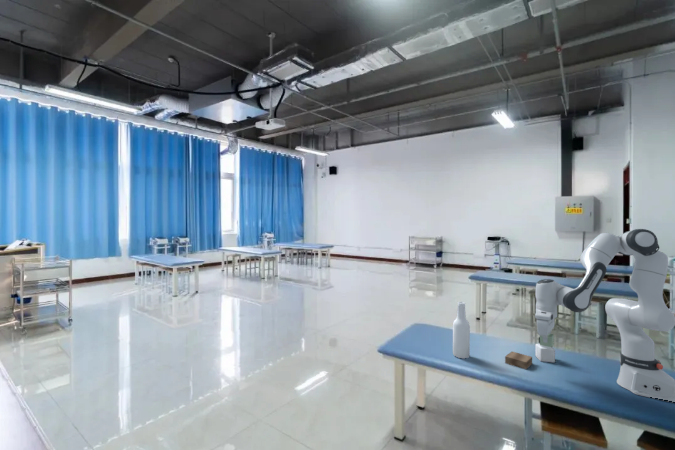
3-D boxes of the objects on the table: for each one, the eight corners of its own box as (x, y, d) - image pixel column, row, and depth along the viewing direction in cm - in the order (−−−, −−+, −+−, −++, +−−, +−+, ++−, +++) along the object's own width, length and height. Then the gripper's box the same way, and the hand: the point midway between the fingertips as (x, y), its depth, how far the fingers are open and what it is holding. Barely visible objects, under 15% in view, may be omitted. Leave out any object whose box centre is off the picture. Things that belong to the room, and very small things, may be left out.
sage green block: (553, 344, 157) (553, 334, 157) (551, 347, 154) (551, 337, 154) (542, 342, 161) (541, 332, 161) (539, 344, 157) (539, 334, 157)
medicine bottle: (555, 362, 170) (555, 340, 170) (540, 361, 172) (540, 339, 172) (549, 357, 177) (549, 335, 177) (535, 356, 179) (535, 334, 179)
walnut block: (532, 364, 169) (532, 356, 169) (526, 370, 162) (526, 362, 162) (511, 358, 176) (511, 351, 176) (505, 363, 169) (505, 356, 169)
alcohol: (467, 360, 172) (467, 305, 172) (450, 356, 177) (451, 303, 177) (471, 355, 180) (471, 302, 180) (454, 351, 185) (455, 300, 185)
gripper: (543, 307, 167) (543, 333, 167) (534, 315, 152) (534, 344, 152) (557, 309, 163) (558, 336, 163) (549, 318, 148) (550, 347, 148)
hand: (546, 340), depth 157 cm, fingers closed on sage green block, 5 cm apart
